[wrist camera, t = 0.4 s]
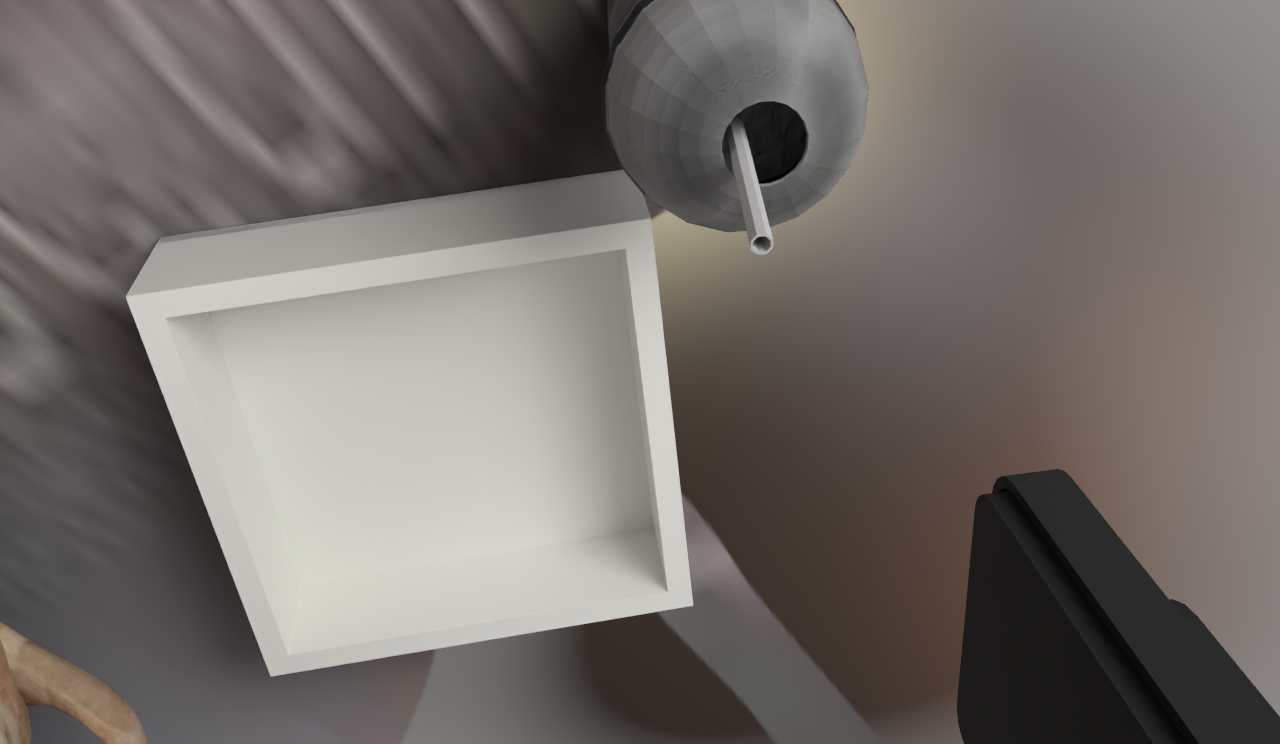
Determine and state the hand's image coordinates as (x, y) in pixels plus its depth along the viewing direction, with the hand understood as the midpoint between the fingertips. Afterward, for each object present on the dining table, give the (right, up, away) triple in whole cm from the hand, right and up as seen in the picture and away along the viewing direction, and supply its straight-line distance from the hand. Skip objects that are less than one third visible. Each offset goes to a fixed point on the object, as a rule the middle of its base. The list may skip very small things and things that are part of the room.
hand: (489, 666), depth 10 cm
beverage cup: (+2, +16, +30) cm, 35 cm away
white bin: (-7, +1, +37) cm, 38 cm away
